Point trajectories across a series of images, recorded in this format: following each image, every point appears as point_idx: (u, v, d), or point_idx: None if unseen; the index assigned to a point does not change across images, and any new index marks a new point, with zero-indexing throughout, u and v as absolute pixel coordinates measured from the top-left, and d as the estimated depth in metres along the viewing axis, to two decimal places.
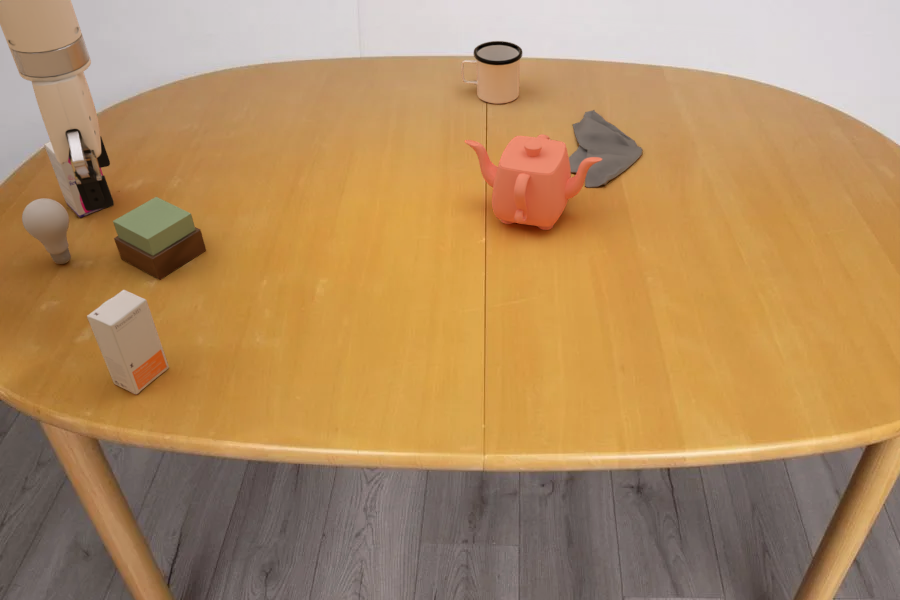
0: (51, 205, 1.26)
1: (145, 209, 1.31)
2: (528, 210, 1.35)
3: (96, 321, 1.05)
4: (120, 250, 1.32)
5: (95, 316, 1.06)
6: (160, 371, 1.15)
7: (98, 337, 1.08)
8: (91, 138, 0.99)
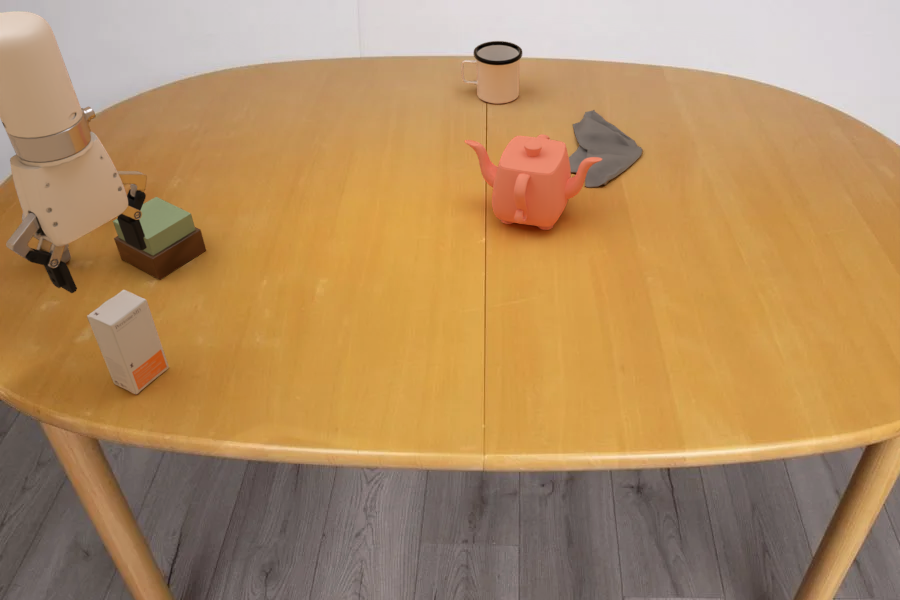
0: None
1: (145, 209, 1.31)
2: (528, 210, 1.35)
3: (96, 321, 1.05)
4: (120, 250, 1.32)
5: (95, 316, 1.06)
6: (160, 371, 1.15)
7: (98, 337, 1.08)
8: (46, 228, 0.93)
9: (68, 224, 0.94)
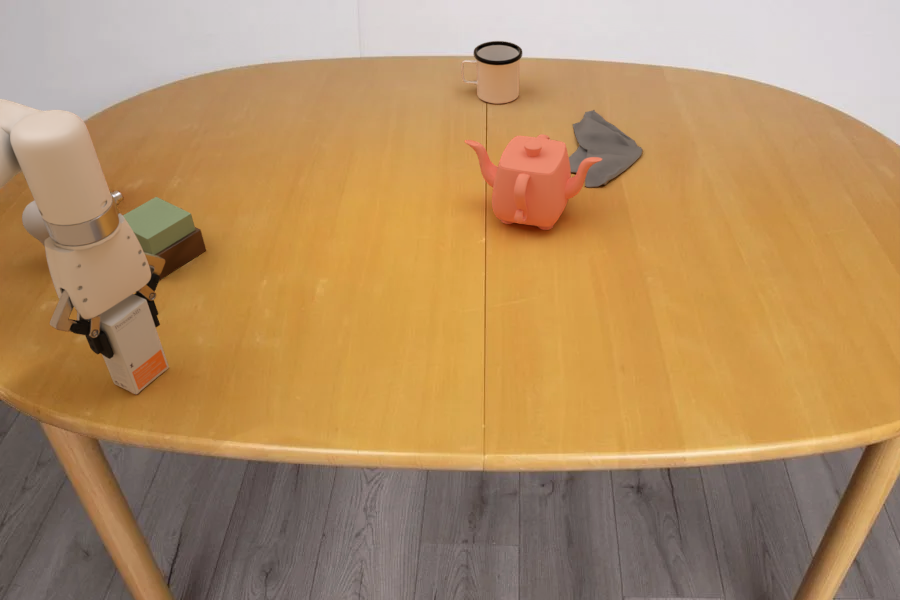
0: None
1: (145, 209, 1.31)
2: (528, 210, 1.35)
3: None
4: None
5: None
6: (160, 371, 1.15)
7: None
8: (77, 303, 1.00)
9: (96, 299, 1.01)
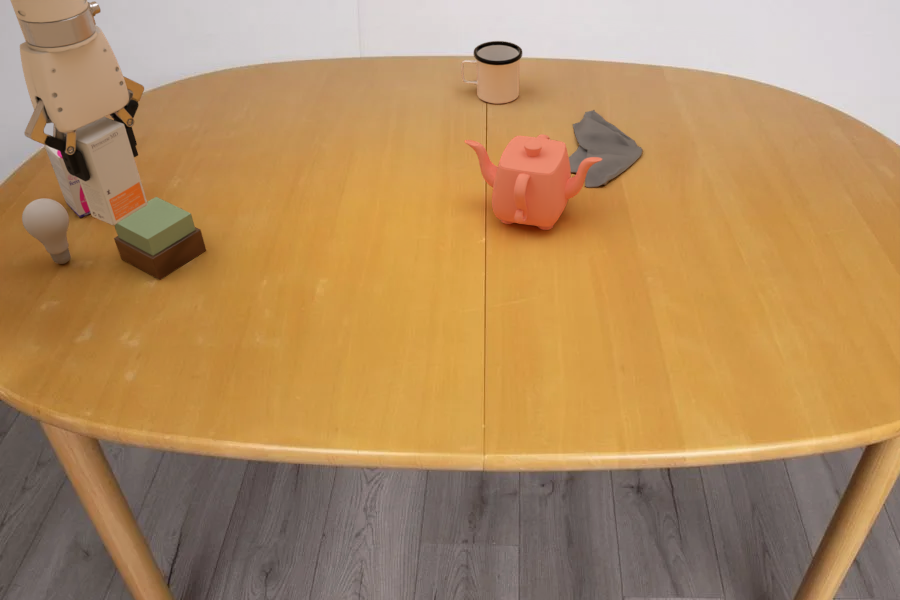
0: (51, 205, 1.26)
1: (145, 209, 1.31)
2: (528, 210, 1.35)
3: None
4: (120, 250, 1.32)
5: None
6: (138, 206, 1.14)
7: None
8: (51, 112, 1.00)
9: (72, 111, 1.01)
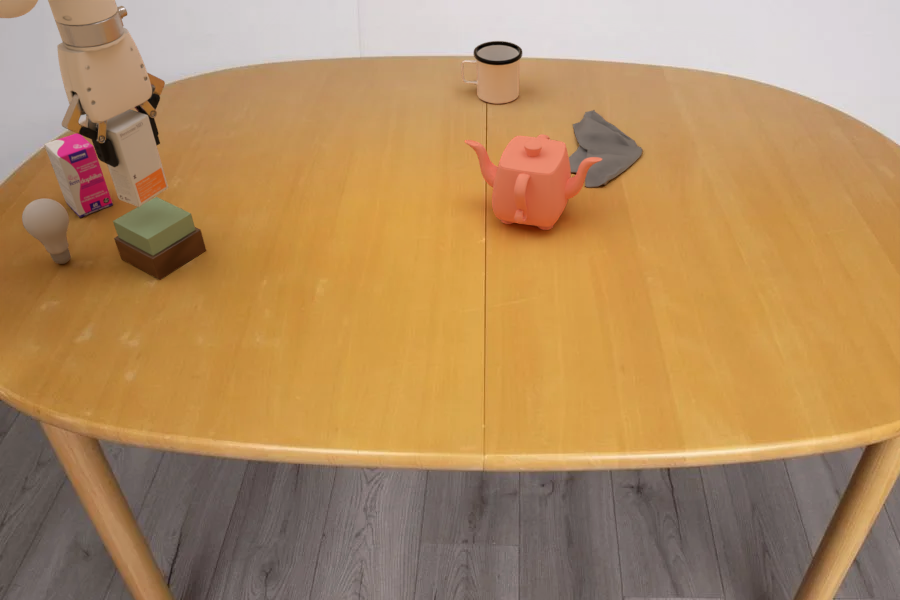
0: (51, 205, 1.26)
1: (145, 209, 1.31)
2: (528, 210, 1.35)
3: None
4: (120, 250, 1.32)
5: None
6: (160, 189, 1.27)
7: None
8: (86, 105, 1.12)
9: (103, 104, 1.14)
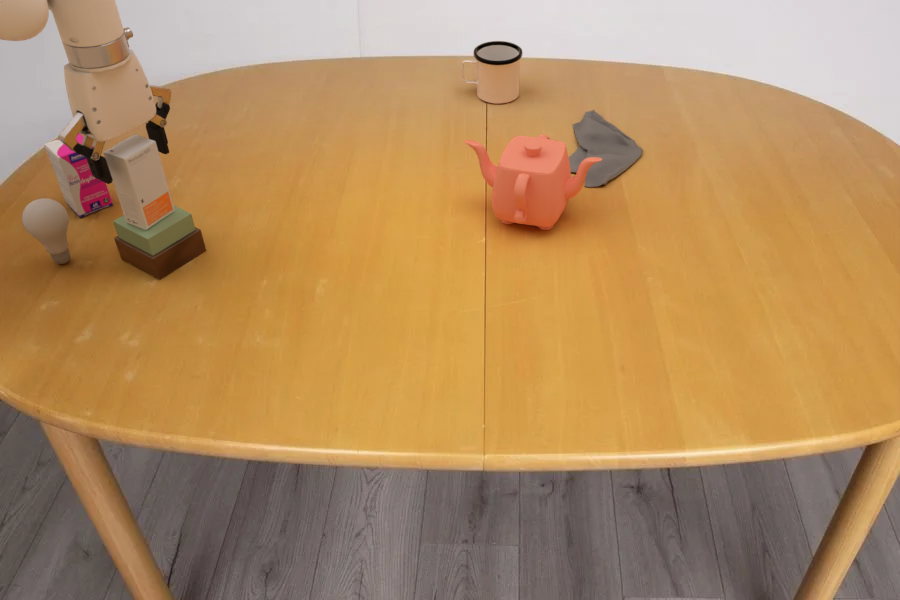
0: (51, 205, 1.26)
1: None
2: (528, 210, 1.35)
3: (111, 156, 1.20)
4: (120, 250, 1.32)
5: (111, 152, 1.21)
6: (167, 213, 1.30)
7: (113, 174, 1.23)
8: (91, 125, 1.14)
9: (108, 123, 1.16)
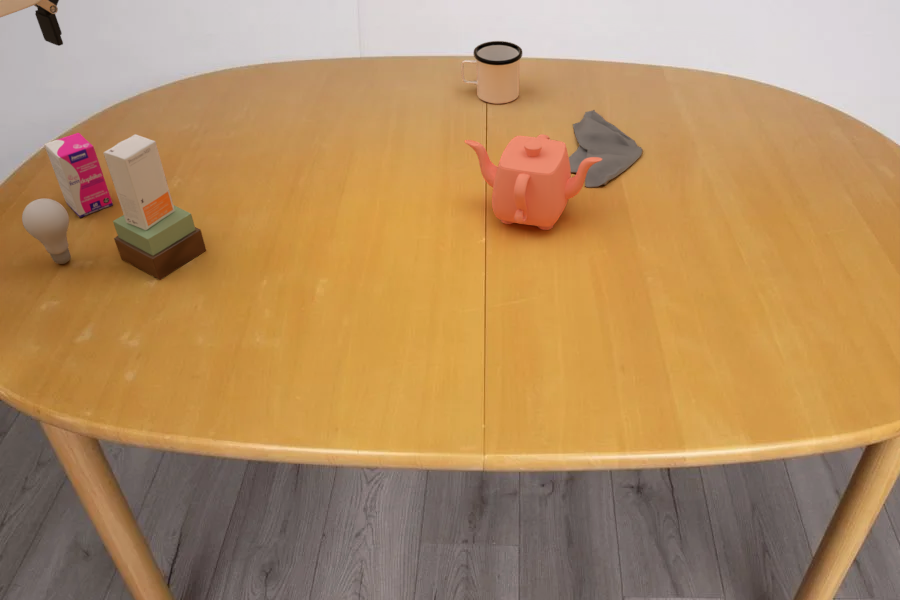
0: (51, 205, 1.26)
1: None
2: (528, 210, 1.35)
3: (111, 156, 1.20)
4: (120, 250, 1.32)
5: (111, 152, 1.21)
6: (167, 213, 1.30)
7: (113, 174, 1.23)
8: None
9: None
